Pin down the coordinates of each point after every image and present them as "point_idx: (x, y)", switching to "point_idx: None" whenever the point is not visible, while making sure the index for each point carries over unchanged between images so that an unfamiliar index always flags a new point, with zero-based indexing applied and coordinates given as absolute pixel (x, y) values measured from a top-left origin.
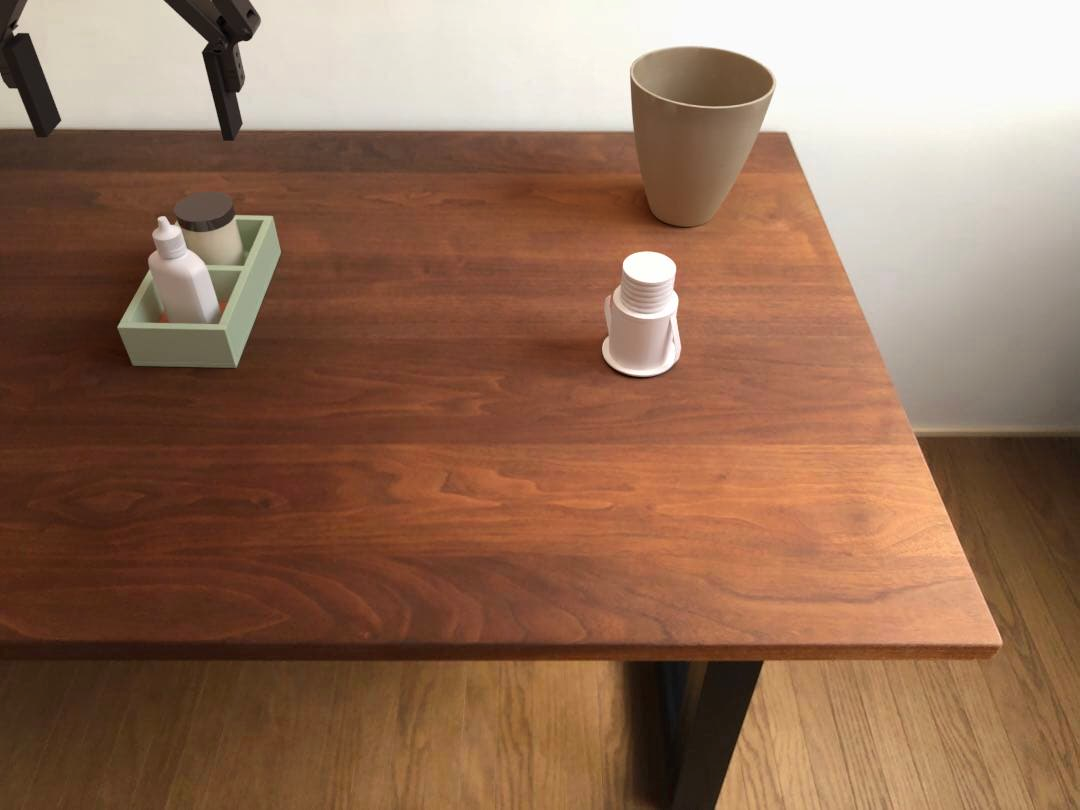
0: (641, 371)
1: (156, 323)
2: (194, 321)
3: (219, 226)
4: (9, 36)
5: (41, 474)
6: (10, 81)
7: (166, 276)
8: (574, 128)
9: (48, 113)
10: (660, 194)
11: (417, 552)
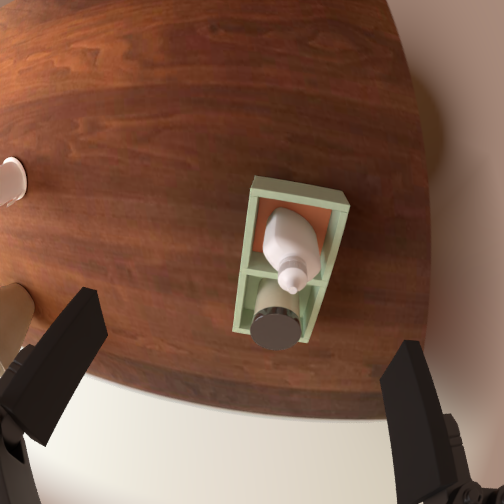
0: (10, 160)
1: (315, 205)
2: (286, 215)
3: (261, 310)
4: (433, 501)
5: (391, 81)
6: (448, 424)
7: (301, 243)
8: (88, 375)
9: (396, 382)
10: (14, 298)
11: (114, 3)
